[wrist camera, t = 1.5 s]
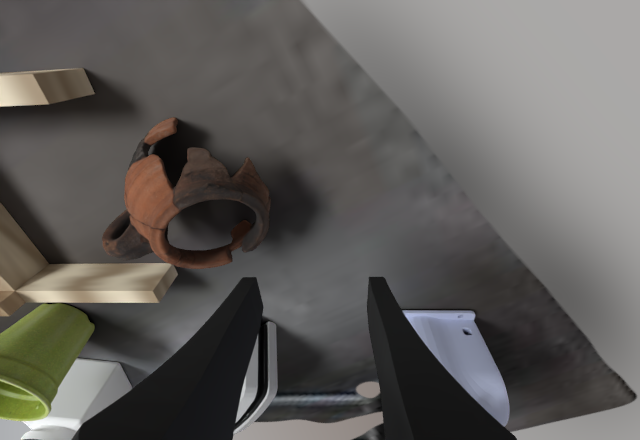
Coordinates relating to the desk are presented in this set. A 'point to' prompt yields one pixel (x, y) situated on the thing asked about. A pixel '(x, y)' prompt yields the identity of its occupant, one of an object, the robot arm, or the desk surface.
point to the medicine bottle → (80, 398)
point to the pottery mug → (182, 204)
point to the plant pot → (39, 359)
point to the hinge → (259, 378)
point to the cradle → (25, 259)
